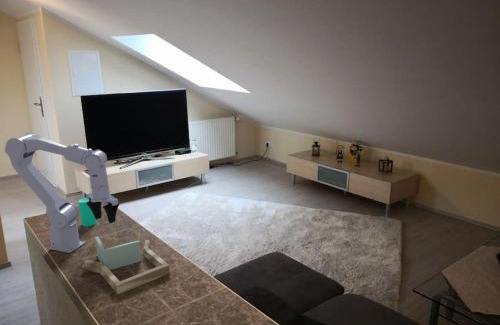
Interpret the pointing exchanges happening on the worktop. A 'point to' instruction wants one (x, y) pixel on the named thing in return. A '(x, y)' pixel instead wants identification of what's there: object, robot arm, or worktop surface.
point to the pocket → (136, 280)
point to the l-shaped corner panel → (118, 254)
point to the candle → (86, 213)
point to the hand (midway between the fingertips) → (105, 220)
